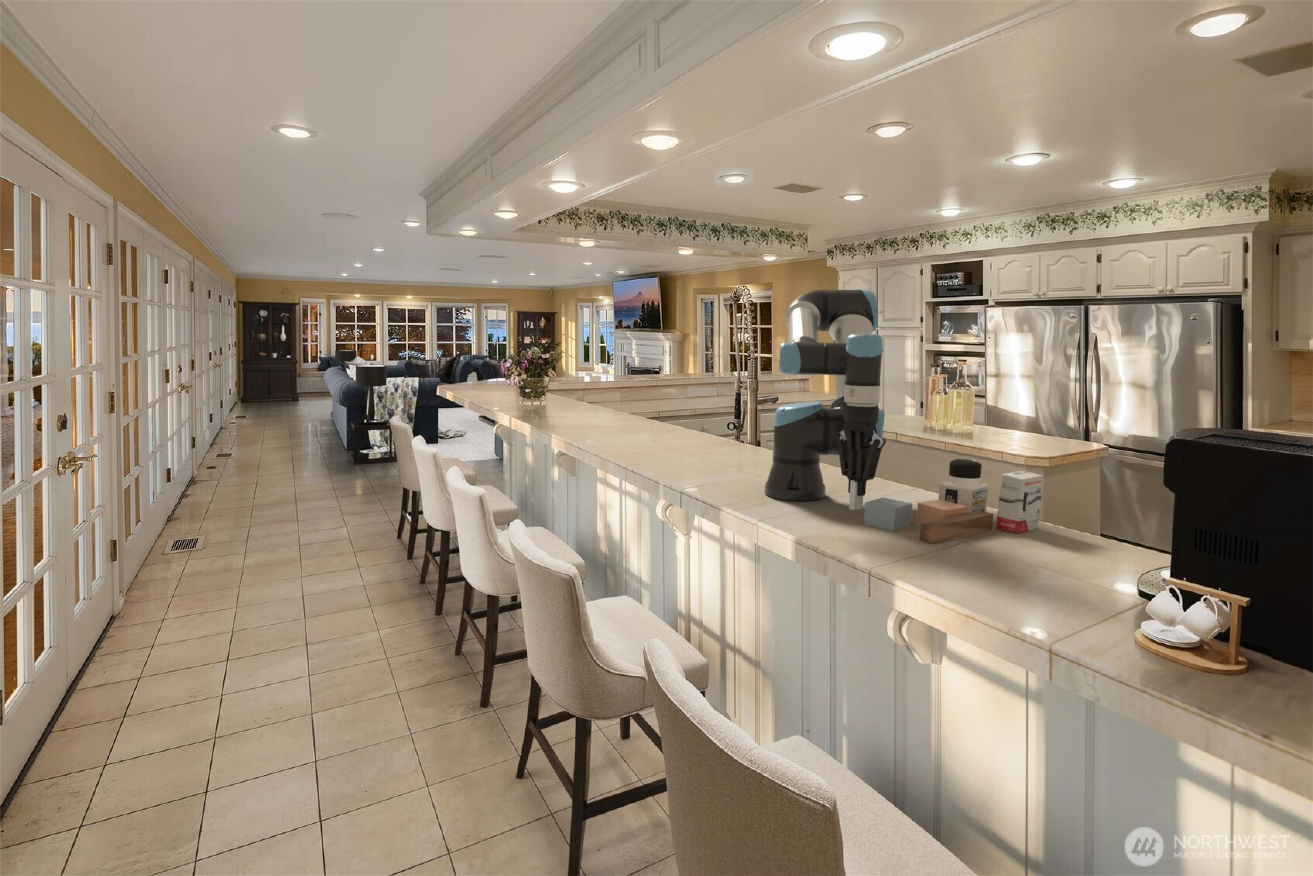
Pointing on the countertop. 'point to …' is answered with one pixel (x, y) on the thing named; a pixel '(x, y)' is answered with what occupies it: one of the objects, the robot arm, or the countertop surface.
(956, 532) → the walnut board
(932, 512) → the terracotta block
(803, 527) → the countertop surface
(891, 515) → the slate block
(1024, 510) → the ink box
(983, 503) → the container
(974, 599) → the countertop surface
